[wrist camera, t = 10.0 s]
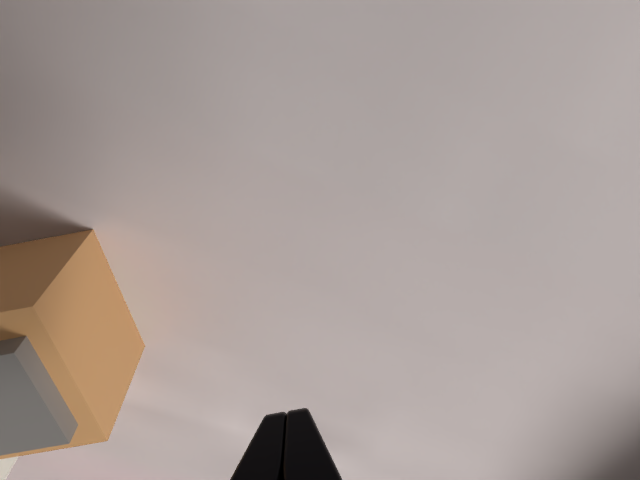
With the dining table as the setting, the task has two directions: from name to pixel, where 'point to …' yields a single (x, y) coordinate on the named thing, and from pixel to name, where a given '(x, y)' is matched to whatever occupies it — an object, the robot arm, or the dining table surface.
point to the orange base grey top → (61, 345)
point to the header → (6, 466)
